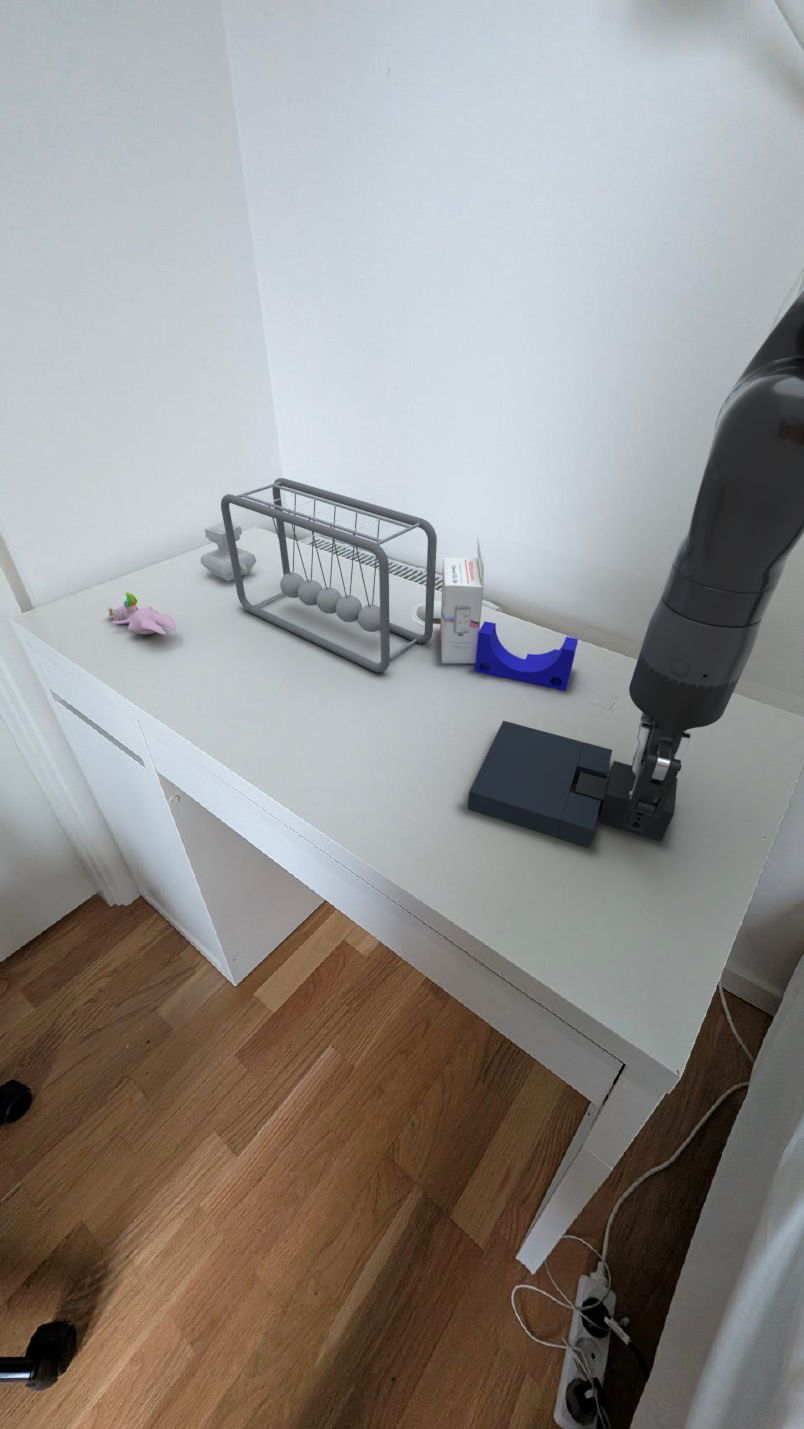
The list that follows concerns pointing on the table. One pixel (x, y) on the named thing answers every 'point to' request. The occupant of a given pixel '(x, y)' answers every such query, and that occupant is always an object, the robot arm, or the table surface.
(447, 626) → the ink cartridge box
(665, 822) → the black usb stick
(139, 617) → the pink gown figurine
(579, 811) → the grey pad
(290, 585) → the newton's cradle
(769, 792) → the table surface
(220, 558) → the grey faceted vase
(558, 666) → the blue half-round bracket
